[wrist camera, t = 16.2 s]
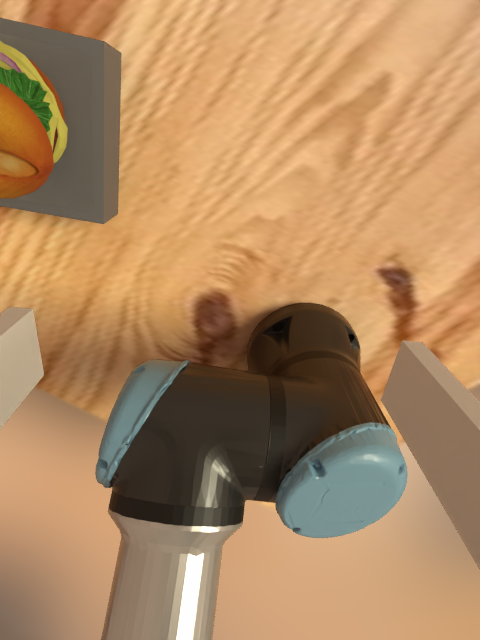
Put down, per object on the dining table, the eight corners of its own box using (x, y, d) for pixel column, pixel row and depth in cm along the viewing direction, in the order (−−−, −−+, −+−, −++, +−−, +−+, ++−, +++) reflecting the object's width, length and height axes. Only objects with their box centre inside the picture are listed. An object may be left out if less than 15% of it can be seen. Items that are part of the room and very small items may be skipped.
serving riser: (117, 213, 40) (103, 224, 36) (-22, 188, 39) (-55, 196, 34) (121, 53, 33) (104, 41, 29) (-49, 15, 32) (-95, -4, 27)
